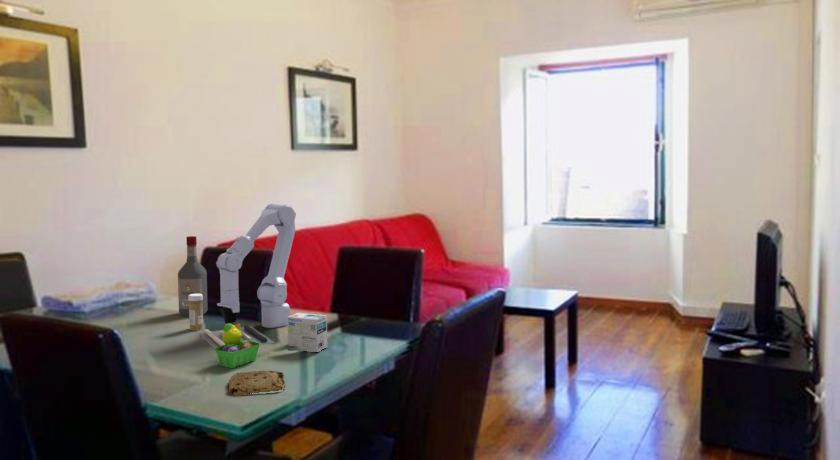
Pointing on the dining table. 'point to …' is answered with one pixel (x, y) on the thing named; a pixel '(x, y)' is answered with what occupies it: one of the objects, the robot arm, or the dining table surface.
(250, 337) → the panel
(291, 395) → the dining table surface
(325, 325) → the light bulb box
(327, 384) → the dining table surface
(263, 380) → the pastry
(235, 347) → the fruit basket
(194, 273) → the liquor
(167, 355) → the dining table surface
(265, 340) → the dark grey rounded rod
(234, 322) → the block
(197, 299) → the sprinkles bottle
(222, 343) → the white rounded rod
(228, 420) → the dining table surface
